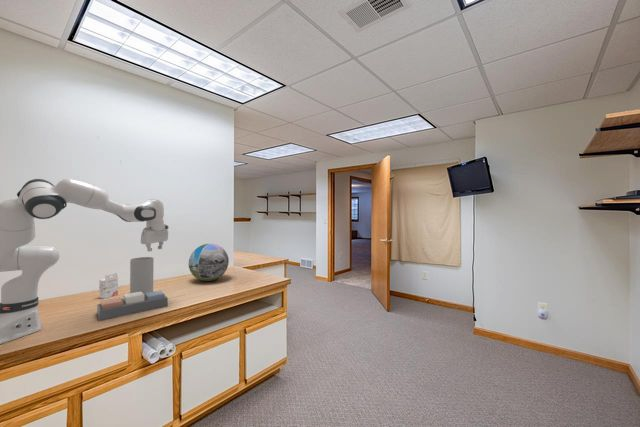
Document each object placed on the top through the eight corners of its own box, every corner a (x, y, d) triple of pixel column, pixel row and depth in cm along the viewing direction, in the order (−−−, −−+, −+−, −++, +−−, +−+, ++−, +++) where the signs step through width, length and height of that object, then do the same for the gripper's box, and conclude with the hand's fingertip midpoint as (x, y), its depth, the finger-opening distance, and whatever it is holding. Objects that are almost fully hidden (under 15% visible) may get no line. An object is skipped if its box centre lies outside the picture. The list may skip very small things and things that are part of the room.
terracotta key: (101, 312, 136) (101, 305, 136) (100, 308, 142) (100, 301, 142) (122, 308, 142) (122, 301, 142) (119, 304, 148) (119, 297, 148)
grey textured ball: (207, 275, 232) (207, 241, 232) (236, 277, 223) (236, 242, 223) (179, 283, 204) (179, 245, 204) (211, 287, 194) (211, 246, 194)
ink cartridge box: (111, 294, 176) (112, 272, 176) (118, 294, 175) (118, 272, 175) (98, 298, 168) (99, 275, 168) (105, 298, 167) (105, 275, 167)
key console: (99, 320, 133) (99, 310, 133) (97, 313, 143) (97, 304, 143) (167, 306, 155) (167, 297, 155) (161, 300, 164) (161, 292, 164)
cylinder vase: (157, 296, 173) (157, 258, 173) (136, 301, 162) (136, 261, 162) (147, 292, 179) (147, 256, 179) (126, 297, 169) (126, 259, 169)
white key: (125, 305, 143) (126, 297, 143) (123, 301, 149) (123, 294, 149) (144, 301, 149) (144, 294, 149) (141, 298, 155) (141, 291, 155)
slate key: (147, 303, 150) (147, 296, 150) (144, 300, 156) (144, 293, 156) (164, 300, 156) (164, 293, 156) (160, 296, 162) (160, 290, 162)
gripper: (148, 227, 145) (148, 252, 145) (170, 226, 166) (170, 247, 166) (137, 227, 145) (137, 252, 145) (160, 226, 166) (160, 247, 166)
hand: (154, 250), depth 156 cm, fingers open, 8 cm apart
